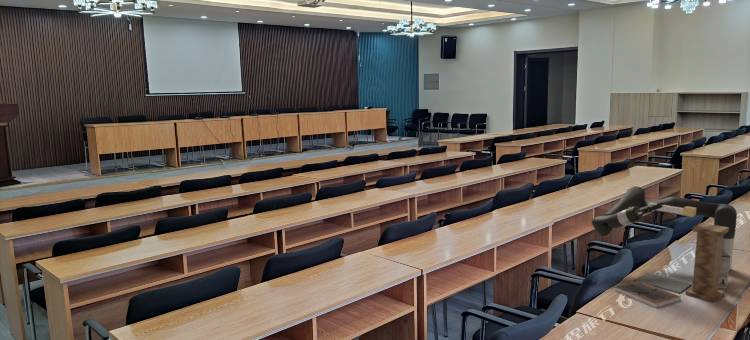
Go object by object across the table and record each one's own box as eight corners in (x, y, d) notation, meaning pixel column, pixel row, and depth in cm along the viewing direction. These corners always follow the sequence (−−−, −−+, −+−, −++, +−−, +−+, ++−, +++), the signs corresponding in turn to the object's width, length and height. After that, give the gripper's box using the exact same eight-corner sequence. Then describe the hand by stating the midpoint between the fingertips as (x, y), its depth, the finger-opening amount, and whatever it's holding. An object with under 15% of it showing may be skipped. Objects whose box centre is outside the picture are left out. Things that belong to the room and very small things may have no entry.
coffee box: (705, 280, 263) (708, 248, 260) (719, 281, 261) (722, 249, 258) (712, 287, 254) (715, 255, 251) (727, 288, 252) (731, 256, 249)
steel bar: (647, 208, 259) (647, 201, 259) (650, 207, 262) (651, 200, 261) (692, 216, 244) (693, 209, 244) (695, 215, 247) (696, 207, 246)
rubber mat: (633, 280, 264) (633, 279, 264) (646, 273, 273) (646, 272, 273) (679, 293, 248) (679, 292, 248) (691, 285, 257) (691, 283, 257)
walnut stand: (685, 294, 247) (691, 227, 242) (695, 286, 255) (701, 221, 249) (714, 302, 238) (721, 233, 233) (724, 294, 246) (730, 227, 240)
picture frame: (614, 291, 254) (655, 309, 235) (614, 286, 254) (655, 303, 235) (638, 284, 261) (680, 301, 242) (639, 279, 261) (680, 296, 242)
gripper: (619, 211, 265) (652, 199, 252) (632, 206, 273) (665, 194, 261) (626, 226, 263) (659, 214, 250) (639, 220, 272) (672, 209, 259)
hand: (662, 204), depth 255 cm, fingers closed on steel bar, 2 cm apart
